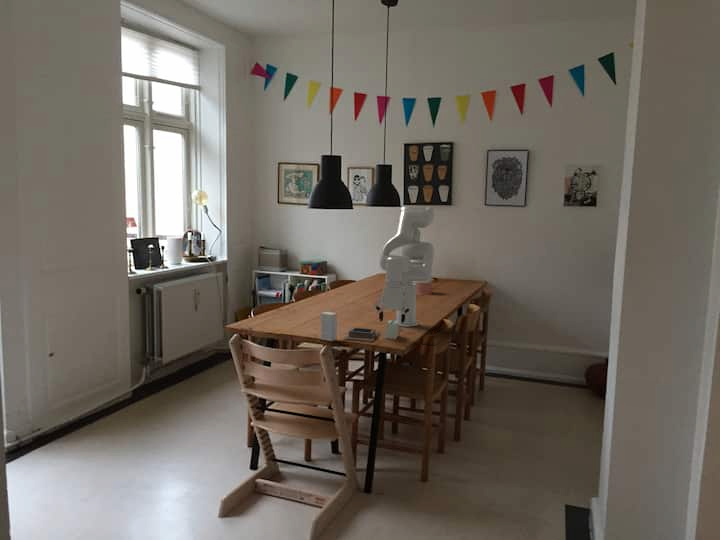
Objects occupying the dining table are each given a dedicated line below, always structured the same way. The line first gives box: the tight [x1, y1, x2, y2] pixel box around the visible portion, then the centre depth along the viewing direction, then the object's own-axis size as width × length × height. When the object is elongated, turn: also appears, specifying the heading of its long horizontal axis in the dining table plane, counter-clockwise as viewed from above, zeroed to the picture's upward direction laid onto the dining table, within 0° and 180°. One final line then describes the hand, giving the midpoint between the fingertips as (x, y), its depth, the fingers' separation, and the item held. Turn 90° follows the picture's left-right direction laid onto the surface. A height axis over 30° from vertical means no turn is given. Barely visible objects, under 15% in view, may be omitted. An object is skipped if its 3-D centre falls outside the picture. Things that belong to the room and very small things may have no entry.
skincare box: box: [320, 311, 338, 342], centre depth 253 cm, size 6×4×12 cm
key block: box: [385, 319, 399, 340], centre depth 261 cm, size 7×4×7 cm, turn 167°
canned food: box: [414, 274, 433, 295], centre depth 381 cm, size 11×11×12 cm
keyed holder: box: [343, 326, 381, 343], centre depth 261 cm, size 16×13×3 cm
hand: (391, 321), depth 260 cm, fingers open, 9 cm apart
